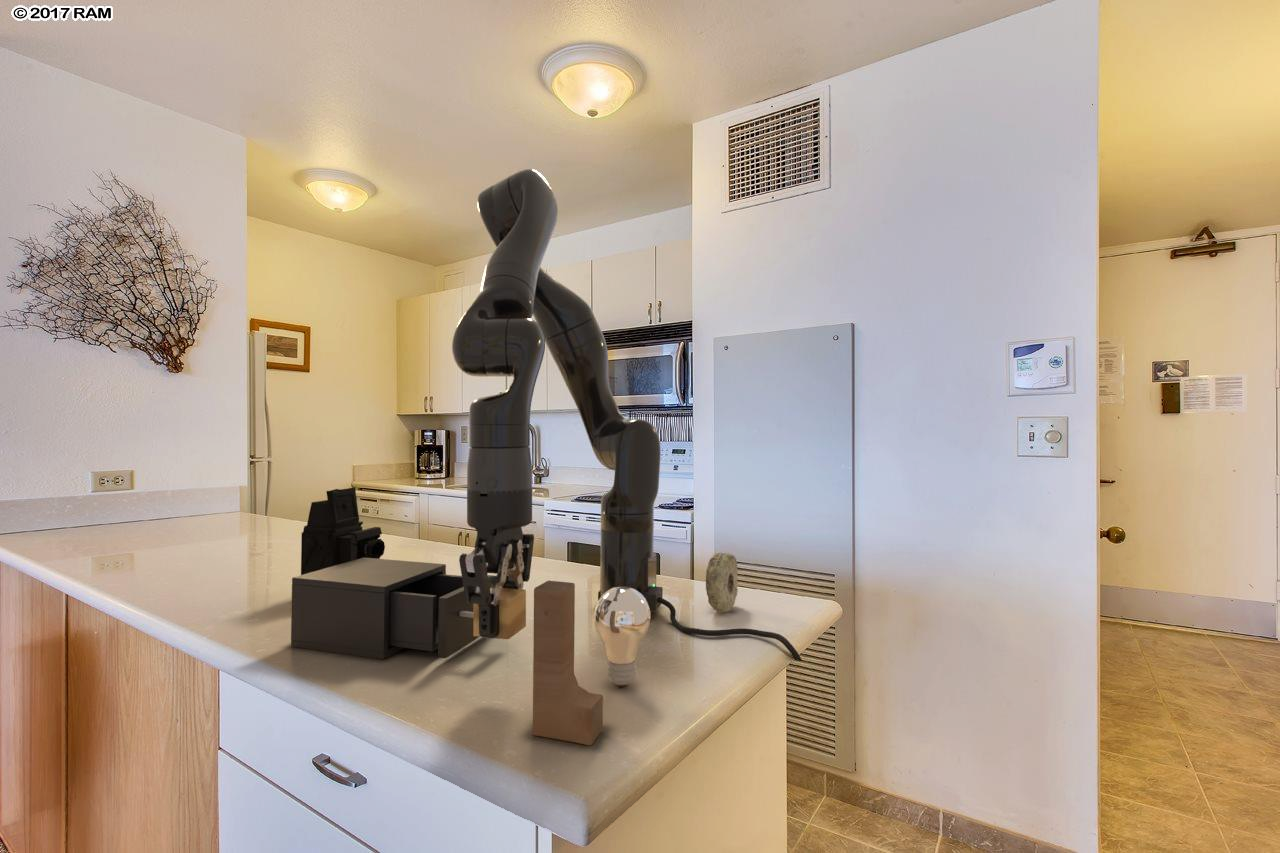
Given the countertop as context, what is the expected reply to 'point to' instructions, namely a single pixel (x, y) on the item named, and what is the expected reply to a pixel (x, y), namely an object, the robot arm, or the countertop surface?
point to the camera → (337, 533)
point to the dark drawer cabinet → (351, 605)
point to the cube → (506, 613)
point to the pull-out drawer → (431, 615)
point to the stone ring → (722, 581)
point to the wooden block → (560, 671)
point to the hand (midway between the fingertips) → (500, 628)
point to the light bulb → (622, 630)
